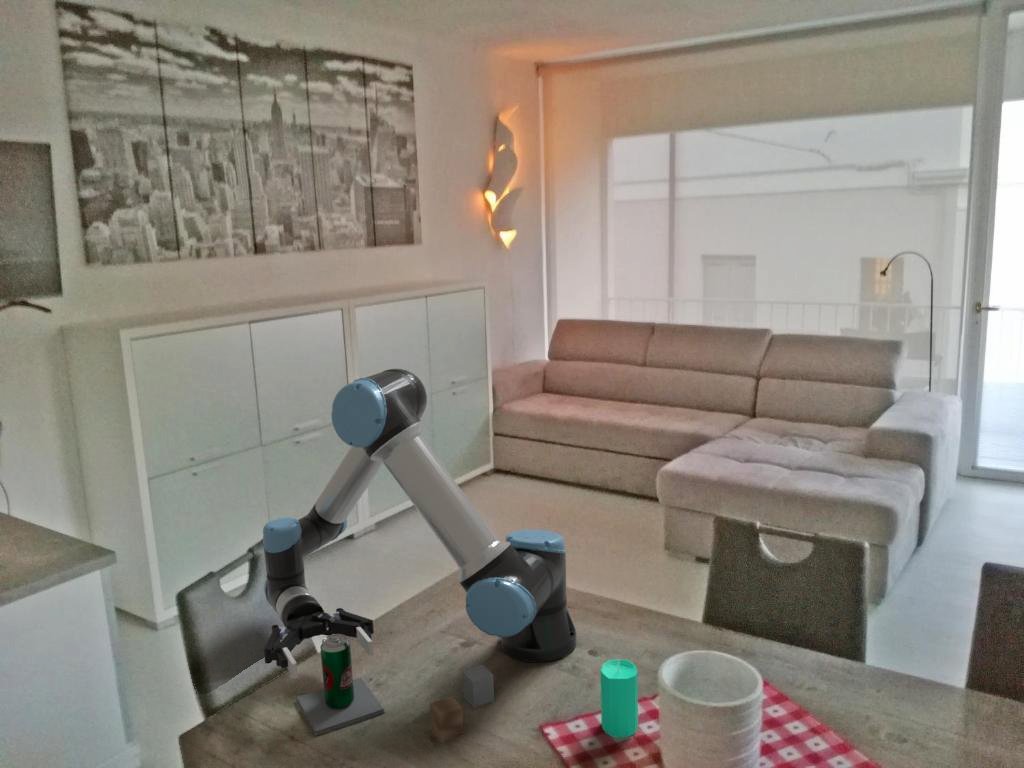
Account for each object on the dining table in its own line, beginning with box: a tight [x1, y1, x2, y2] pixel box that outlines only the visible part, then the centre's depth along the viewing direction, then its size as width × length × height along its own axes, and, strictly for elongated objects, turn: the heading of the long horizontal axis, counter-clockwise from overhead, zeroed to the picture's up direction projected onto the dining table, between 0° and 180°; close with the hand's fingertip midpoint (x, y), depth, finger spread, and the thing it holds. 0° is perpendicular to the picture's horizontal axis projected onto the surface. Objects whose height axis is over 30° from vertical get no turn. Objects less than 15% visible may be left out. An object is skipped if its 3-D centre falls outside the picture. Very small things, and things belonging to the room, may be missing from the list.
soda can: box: [320, 634, 354, 709], centre depth 144 cm, size 5×5×12 cm
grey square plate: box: [296, 676, 385, 736], centre depth 145 cm, size 12×12×1 cm
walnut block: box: [429, 695, 464, 744], centre depth 136 cm, size 4×4×5 cm
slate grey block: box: [462, 664, 495, 709], centre depth 146 cm, size 4×4×5 cm
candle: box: [600, 659, 639, 738], centre depth 135 cm, size 6×6×12 cm
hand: (333, 659), depth 143 cm, fingers open, 13 cm apart
